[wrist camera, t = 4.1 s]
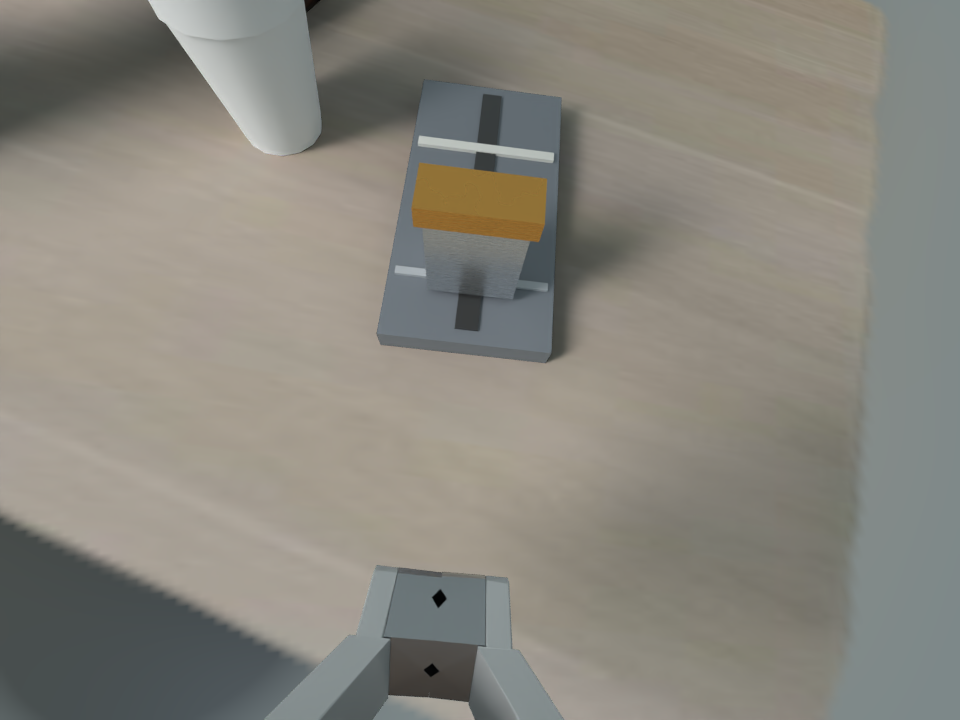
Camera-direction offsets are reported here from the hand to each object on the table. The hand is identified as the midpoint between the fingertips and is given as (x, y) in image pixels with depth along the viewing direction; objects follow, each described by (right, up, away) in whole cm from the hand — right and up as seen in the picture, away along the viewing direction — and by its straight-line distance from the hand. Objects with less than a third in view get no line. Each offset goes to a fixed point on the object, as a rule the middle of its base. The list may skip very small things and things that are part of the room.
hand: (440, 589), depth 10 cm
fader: (0, +11, +22) cm, 24 cm away
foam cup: (-16, +25, +28) cm, 41 cm away
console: (+1, +17, +27) cm, 32 cm away
